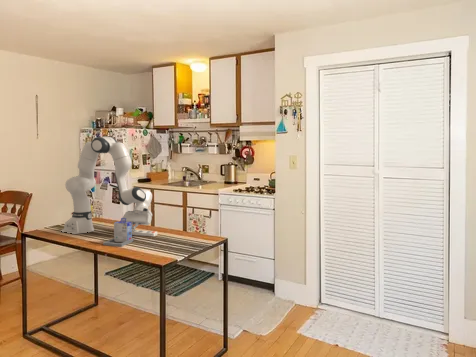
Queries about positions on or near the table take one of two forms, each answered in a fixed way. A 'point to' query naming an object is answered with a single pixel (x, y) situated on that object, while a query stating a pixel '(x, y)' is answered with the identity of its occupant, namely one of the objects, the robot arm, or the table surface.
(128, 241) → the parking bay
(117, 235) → the ink cartridge box
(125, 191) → the robot arm
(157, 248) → the table surface
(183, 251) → the table surface
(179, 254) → the table surface
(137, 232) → the power strip
